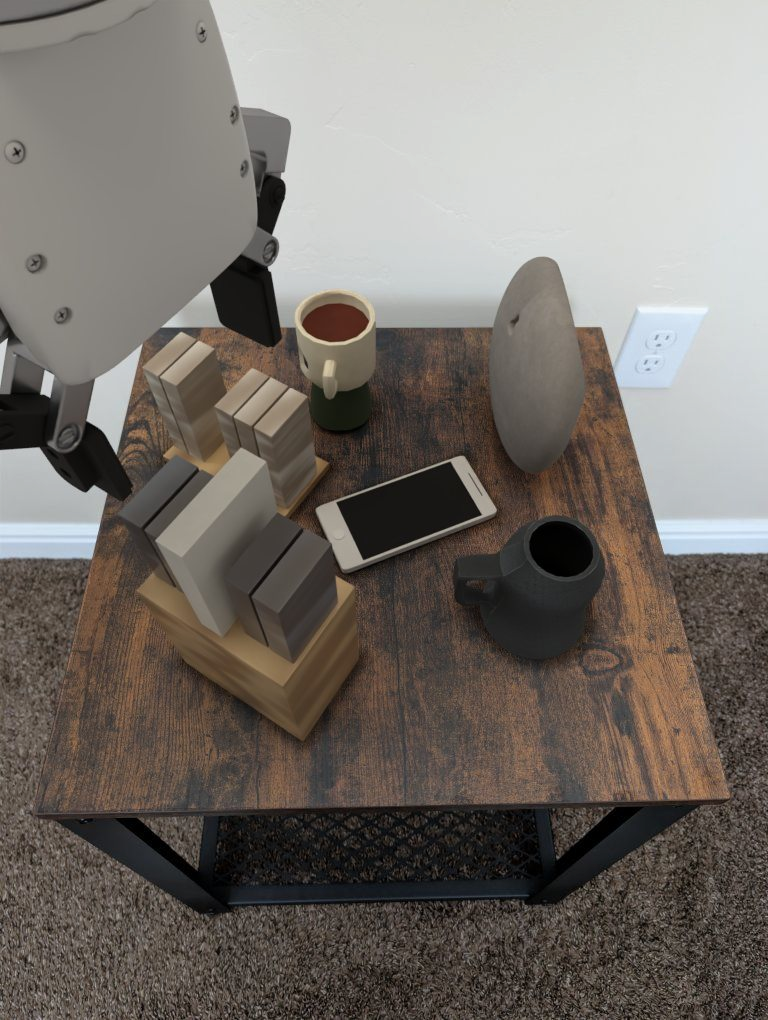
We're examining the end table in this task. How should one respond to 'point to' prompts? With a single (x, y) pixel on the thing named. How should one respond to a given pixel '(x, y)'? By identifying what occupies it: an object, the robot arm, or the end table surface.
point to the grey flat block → (218, 535)
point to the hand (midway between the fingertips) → (181, 401)
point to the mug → (535, 586)
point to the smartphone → (404, 513)
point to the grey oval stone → (535, 367)
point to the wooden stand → (254, 608)
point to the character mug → (337, 356)
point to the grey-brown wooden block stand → (234, 419)
